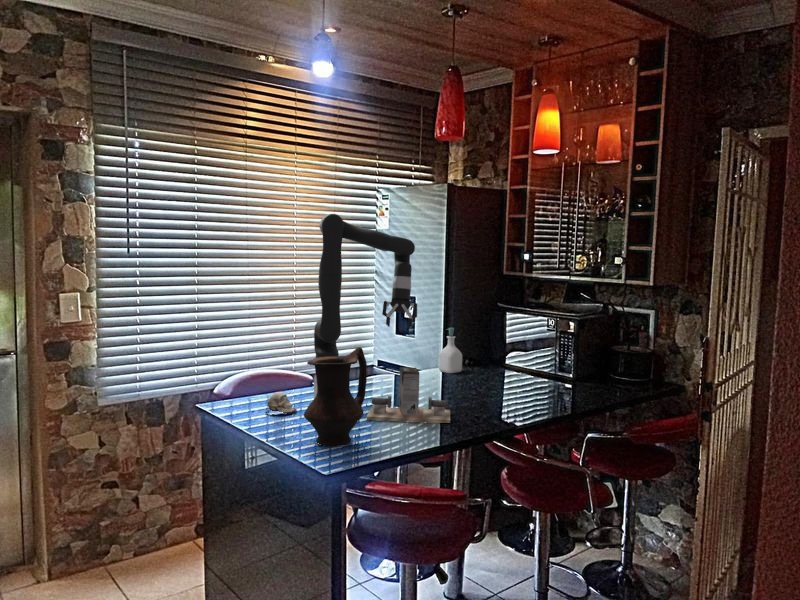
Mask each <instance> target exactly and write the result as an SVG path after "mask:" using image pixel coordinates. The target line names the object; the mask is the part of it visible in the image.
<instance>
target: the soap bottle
mask: <svg viewBox="0 0 800 600" xmlns="http://www.w3.org/2000/svg"><path fill="white" fill-rule="evenodd" d="M445 330H446V331H447V330H448V335H447V336H446V338H447V344H446V346H445V347H444V348H442V349H441V351H440V352H439V353H438V370H439V372H443V373H447V374H455V373H461V372H462V370H463V354H462V352H461V350H459V348H457V347H456V345H455V338H457V337H456V336H455V335H454V332H455V327H448V328H447V329H445ZM453 335H454V336H453Z"/></svg>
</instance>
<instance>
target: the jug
mask: <svg viewBox="0 0 800 600" xmlns="http://www.w3.org/2000/svg"><path fill="white" fill-rule="evenodd" d="M306 362H307V365H310V366H314V371H315V376H316V379H317V395H316V397H315V399H314V398H313V400H312V401H311V402H310V403H309V405H308V406H307V407H306V409H305V411H304V412H303V417H304V418H305V419H306V421H307V422H308V423H309V424H311V426H312V428H314V431H316V433H317V438H316V440H315V443H316V442H317V443H319V444H321V445H320V446H322V445H325V446H324V447H328V446H331V447H334V446H335V447H342V446H343V445H345V446H346V445H349V444H350V443H351V442H352V438H351V436H350V434H351V433H350V432H352V430H353V428H354V427H355V426H356V425H357V424H358V422H359V421H360V420H361V419H362V417H363V415H364V410H363V403H364V401H365V398H366V389H367V380H368V378H367V377H368V371H367V368H368V365H367V363H368V362H367V360H366V357H365V354H364V350H363V348H362V347H361V346H358V347H356V348H355V349H354V350H353V351H351V352H350V353H349V354H347V355H339V356H335V357H319V358H316V357H314V358H313V359H308V360H307V361H306ZM357 363H358V367H359V368H358V369H359V372H358V373H359V374H358V385H357V392H356V395H355V397H354V396H353V394H352V393H351V390H350V385H351V382H350V381H351V379H350V374H351V373H350V372H351V366H352V365H355V364H357ZM317 443H316V444H317ZM319 444H318V445H319Z"/></svg>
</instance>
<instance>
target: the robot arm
mask: <svg viewBox="0 0 800 600" xmlns="http://www.w3.org/2000/svg"><path fill="white" fill-rule="evenodd" d="M318 225H319V226H318V227H319V230H320V232H321V233H322V253H321V256H320V262H319V267H318V292H319V298H320V302H321V318H320V319H319V320H318V321H316V324H315V325H314V331H313V339H314V340H313V342H314V343H313V344H314V346H313V347H314V352H315V358H319V357H335V356H340V355H339V350H338V347H337V340H339V339H340V337H341V334H342V325H341V324H342V323H341V322H342V321H341V297H342V296H341V295H342V281H343V280H342V279H343V274H342V273H343V265H342V260H343V259H342V244H343V239H345V240H349V241H352V242H355V243H359V244H361V245H364V246H366V247H370V248H372V249H376V250H380V251H383V252H392V253H393V255H394V258H393V260H394V271H393V281H392V291H391V292H392V293H391V301H386V300H384V301H383V306H382V316H384V317H385V318H386V320H385V321H386V322H385V324H386V326H387V327H391V316H393V314H394V313H401V314H404V313H406V315H407V316H408V324H407V329H411V327H413V320H414V319H417V318H418V303H417V302H412V303H411V292H412V265H411V263H410V262H411V261H410V259H411V255H413V254H414V253H415V250H416V246H415V243H414V242H413V241H412V240H411V239H408V238H406V237H400V236H397V235H390V234H388V233H385V232H382V231H379V230H375V229H371V228H366V227H361V226H358V225H354V224H351V223H349V222H346V221H345V220H343V218H342V217H341V216H340V215H338V214H337V213H329V214H327V215H324V216H323V217H322V218H321V220H320V221H319V224H318ZM390 306H391V309H389V312H388V313H387V309H388V307H390ZM410 308H411V309H413V315H412V314H411V312H410ZM316 395H317V379H316V375H313V400H314V399H315V397H316Z"/></svg>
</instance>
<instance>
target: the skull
mask: <svg viewBox="0 0 800 600" xmlns="http://www.w3.org/2000/svg"><path fill="white" fill-rule="evenodd" d="M267 407H268V409H269V411H271V410H272V411H279V412H283V413H288V414H287V415H289V414H294V413H296V412H297V408H294V407H293V403H291V401H290V399H289V398H288V395H287V394H286V393H284V392H283V391H277V392H273V393H272V394H271V395H270V397H268V399H267Z"/></svg>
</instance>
